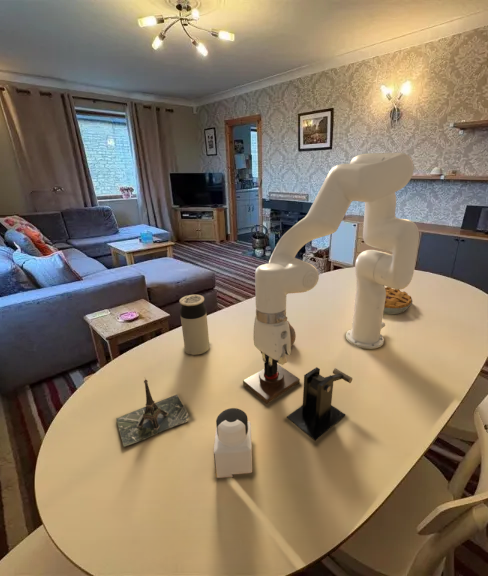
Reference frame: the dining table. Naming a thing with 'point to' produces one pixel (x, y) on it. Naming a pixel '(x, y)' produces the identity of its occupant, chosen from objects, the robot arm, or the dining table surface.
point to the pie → (396, 301)
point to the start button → (272, 376)
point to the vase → (292, 334)
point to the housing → (271, 384)
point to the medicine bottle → (232, 443)
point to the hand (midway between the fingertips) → (270, 373)
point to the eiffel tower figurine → (151, 418)
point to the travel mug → (194, 324)
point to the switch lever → (337, 376)
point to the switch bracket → (316, 407)
